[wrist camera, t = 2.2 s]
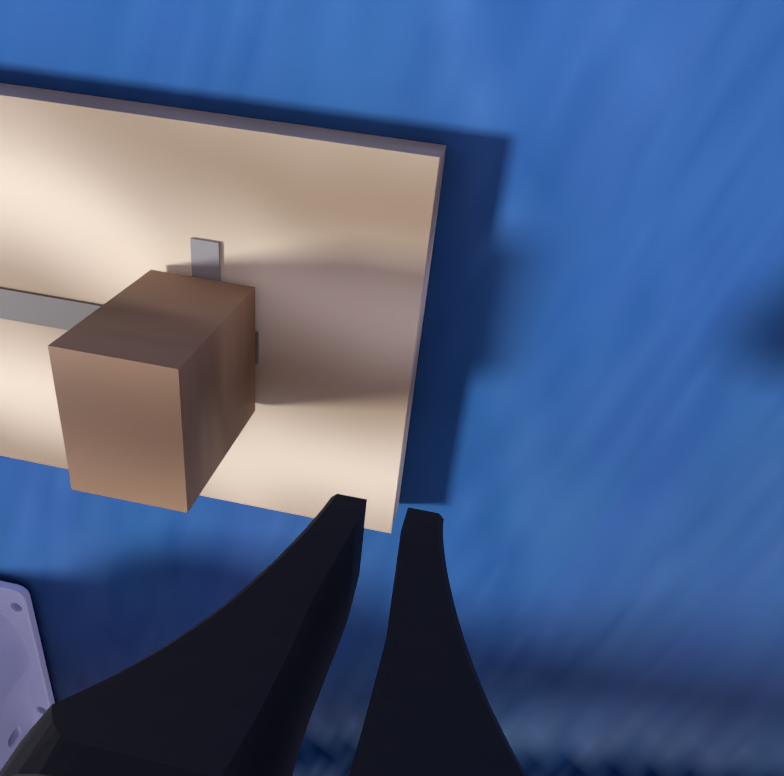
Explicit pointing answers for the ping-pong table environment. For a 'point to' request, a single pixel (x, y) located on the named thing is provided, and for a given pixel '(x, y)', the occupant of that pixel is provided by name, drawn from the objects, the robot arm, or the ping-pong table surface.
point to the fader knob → (156, 388)
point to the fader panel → (227, 275)
